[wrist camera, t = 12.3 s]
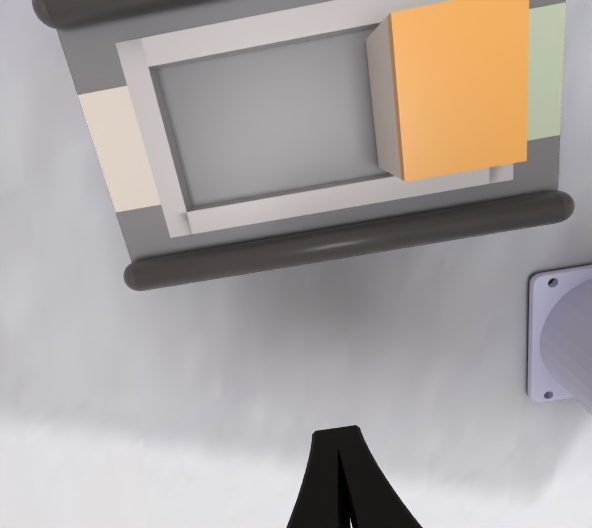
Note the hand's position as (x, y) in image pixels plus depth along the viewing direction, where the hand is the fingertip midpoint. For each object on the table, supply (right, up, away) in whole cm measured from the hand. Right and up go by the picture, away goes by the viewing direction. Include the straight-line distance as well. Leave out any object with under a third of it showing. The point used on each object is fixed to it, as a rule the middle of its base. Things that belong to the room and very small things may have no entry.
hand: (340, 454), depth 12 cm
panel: (0, +12, +7) cm, 14 cm away
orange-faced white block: (+4, +13, +5) cm, 14 cm away
